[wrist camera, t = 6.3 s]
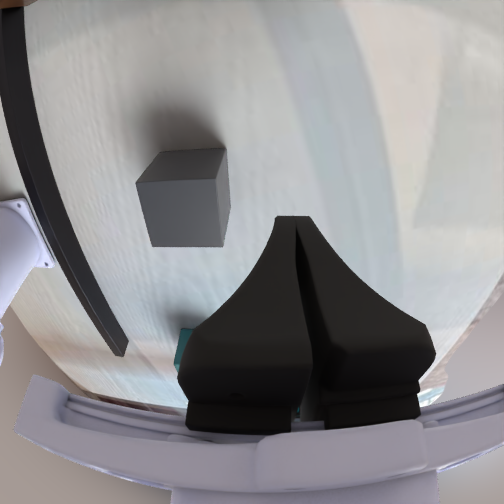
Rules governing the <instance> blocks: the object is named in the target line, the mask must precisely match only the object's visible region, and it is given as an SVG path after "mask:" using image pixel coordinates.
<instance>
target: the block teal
mask: <svg viewBox="0 0 504 504" xmlns="http://www.w3.org/2000/svg"><path fill="white" fill-rule="evenodd" d="M193 330H194V329H181V332H180V336H179V341H178V345H177V350H176V354H175V359H174V366H175V368H176V370H177V372H178V371H179V366H180V361H181V357H182V354H183V351H184V349H185V346H186V344H187V341H188V339H189V337H190V335H191V333H192V331H193Z"/></svg>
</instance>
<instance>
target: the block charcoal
mask: <svg viewBox="0 0 504 504" xmlns="http://www.w3.org/2000/svg"><path fill="white" fill-rule="evenodd" d="M136 187H137V191H138V195H139V199H140V203H141V207H142V211H143V215H144V219H145V223H146V226H147V230H148V234H149V237H150V241H151V244H152V247H223V245H224V240H225V234H226V229H227V224H228V218H229V213H230V208H231V205H230V191H229V178H228V164H227V149H226V148H218V149H197V150H181V151H168V152H160V153H159V154H158V155H157V156H156V158H155V159H154V160H153V161H152V162H151V164H150V165H149V166H148V167H147V169H146V170H145V171H144V172H143V174H142V175H141V176H140V177H139V179H138V180H137V181H136Z"/></svg>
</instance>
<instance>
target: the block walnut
mask: <svg viewBox="0 0 504 504" xmlns="http://www.w3.org/2000/svg"><path fill="white" fill-rule="evenodd" d="M35 1H37V0H0V9H1V8H10V7H20V6H28V5H30V4H31V3H33V2H35Z"/></svg>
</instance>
